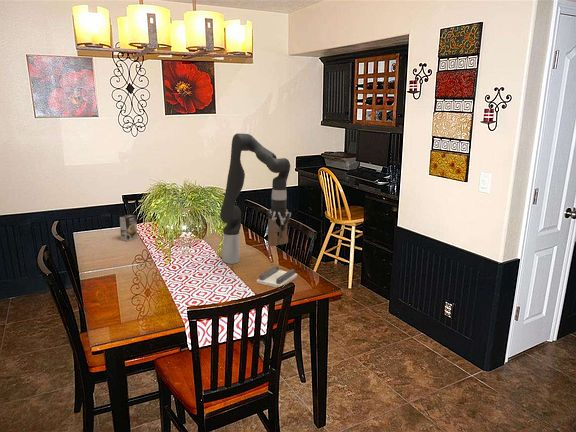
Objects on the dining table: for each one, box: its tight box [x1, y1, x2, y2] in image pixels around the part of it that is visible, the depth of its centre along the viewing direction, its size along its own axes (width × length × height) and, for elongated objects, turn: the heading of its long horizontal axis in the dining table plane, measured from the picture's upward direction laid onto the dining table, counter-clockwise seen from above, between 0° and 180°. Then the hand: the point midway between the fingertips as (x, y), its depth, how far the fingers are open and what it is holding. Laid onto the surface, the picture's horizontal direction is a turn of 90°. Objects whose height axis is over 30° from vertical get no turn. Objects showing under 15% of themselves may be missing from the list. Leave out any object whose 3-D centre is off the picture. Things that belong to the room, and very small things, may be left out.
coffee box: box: [119, 214, 138, 242], centre depth 294 cm, size 9×6×16 cm
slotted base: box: [256, 265, 298, 288], centre depth 231 cm, size 14×19×4 cm
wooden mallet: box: [267, 208, 289, 247], centre depth 225 cm, size 4×11×18 cm, turn 130°
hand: (278, 230), depth 225 cm, fingers closed on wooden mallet, 4 cm apart
